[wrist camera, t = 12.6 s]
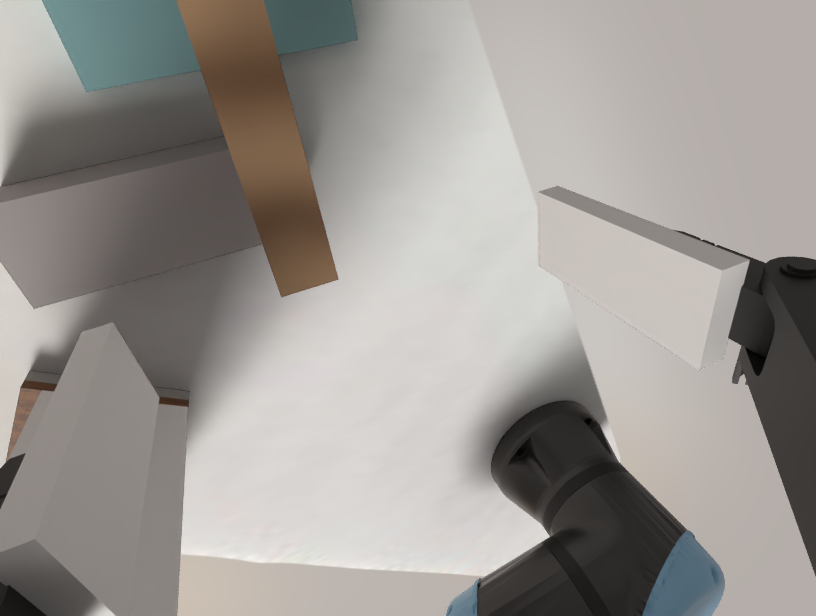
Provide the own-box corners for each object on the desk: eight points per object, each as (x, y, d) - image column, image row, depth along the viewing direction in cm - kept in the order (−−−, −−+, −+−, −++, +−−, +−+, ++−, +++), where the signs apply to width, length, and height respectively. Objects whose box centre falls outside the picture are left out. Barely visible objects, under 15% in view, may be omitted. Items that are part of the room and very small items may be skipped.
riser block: (291, 210, 34) (303, 232, 30) (56, 274, 31) (33, 308, 27) (266, 126, 31) (275, 138, 27) (0, 186, 27) (-36, 211, 23)
